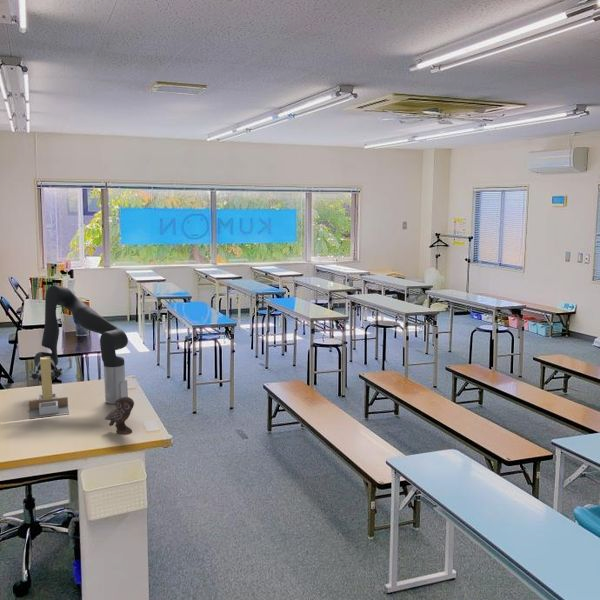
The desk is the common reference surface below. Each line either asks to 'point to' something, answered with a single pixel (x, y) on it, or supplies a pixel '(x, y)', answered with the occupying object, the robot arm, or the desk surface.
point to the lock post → (46, 378)
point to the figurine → (121, 415)
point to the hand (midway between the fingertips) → (46, 378)
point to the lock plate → (48, 406)
